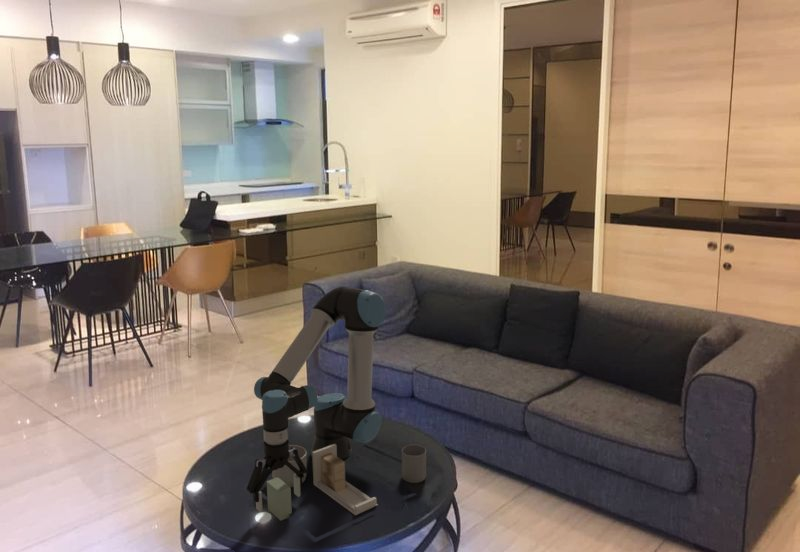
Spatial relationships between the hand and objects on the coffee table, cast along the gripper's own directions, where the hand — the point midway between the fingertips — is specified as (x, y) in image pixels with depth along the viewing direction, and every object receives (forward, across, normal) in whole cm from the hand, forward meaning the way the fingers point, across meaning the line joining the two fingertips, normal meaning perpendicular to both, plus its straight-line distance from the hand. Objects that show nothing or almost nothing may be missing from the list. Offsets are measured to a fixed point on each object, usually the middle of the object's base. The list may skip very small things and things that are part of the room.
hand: (278, 502), depth 207 cm
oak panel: (+2, +21, +1) cm, 21 cm away
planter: (+4, +12, +14) cm, 19 cm away
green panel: (+4, 0, 0) cm, 4 cm away
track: (+4, +21, -6) cm, 22 cm away
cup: (+3, +47, -11) cm, 49 cm away
